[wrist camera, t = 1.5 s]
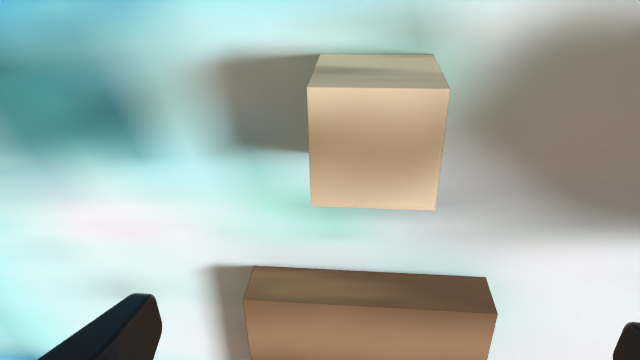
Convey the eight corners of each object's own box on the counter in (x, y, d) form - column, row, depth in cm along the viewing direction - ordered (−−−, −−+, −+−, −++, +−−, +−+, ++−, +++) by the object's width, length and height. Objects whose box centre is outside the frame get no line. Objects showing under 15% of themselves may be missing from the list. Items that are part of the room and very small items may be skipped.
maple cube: (422, 155, 20) (435, 210, 16) (322, 153, 21) (311, 205, 17) (433, 53, 18) (450, 89, 14) (320, 53, 18) (306, 87, 14)
